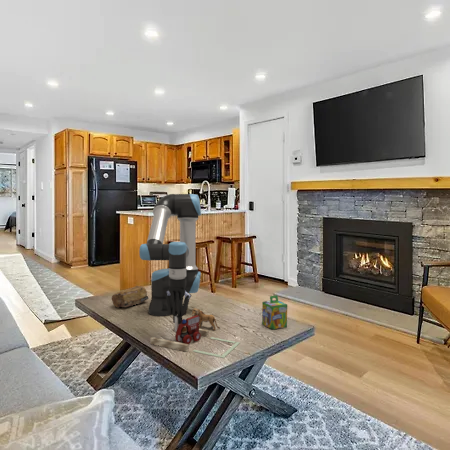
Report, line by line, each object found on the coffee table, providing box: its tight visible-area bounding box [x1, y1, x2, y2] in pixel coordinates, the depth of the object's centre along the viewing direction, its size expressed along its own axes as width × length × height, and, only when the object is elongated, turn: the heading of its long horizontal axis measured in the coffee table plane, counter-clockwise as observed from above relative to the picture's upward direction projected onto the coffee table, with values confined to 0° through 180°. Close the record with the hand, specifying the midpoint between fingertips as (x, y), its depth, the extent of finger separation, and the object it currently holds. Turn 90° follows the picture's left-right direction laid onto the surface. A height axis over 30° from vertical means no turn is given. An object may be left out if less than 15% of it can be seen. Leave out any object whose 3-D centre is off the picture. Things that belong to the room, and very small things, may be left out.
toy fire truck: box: [175, 315, 202, 345], centre depth 157 cm, size 7×12×10 cm, turn 133°
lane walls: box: [150, 324, 210, 352], centre depth 158 cm, size 18×19×2 cm
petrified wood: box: [111, 285, 149, 308], centre depth 211 cm, size 19×13×10 cm
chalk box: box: [261, 294, 288, 330], centre depth 176 cm, size 9×9×15 cm
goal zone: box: [192, 336, 241, 359], centre depth 151 cm, size 14×16×1 cm
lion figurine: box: [190, 307, 221, 331], centre depth 173 cm, size 15×5×9 cm, turn 72°
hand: (177, 330), depth 158 cm, fingers closed
